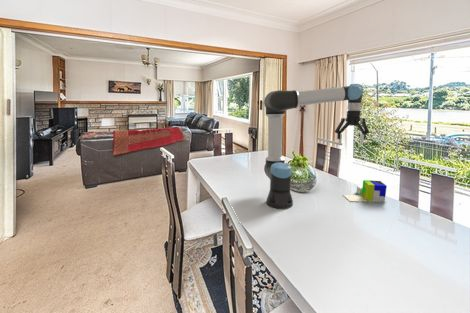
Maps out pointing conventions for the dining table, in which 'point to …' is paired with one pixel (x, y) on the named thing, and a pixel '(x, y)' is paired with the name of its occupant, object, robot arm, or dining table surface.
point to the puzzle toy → (374, 190)
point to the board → (357, 198)
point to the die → (359, 190)
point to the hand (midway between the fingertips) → (350, 144)
